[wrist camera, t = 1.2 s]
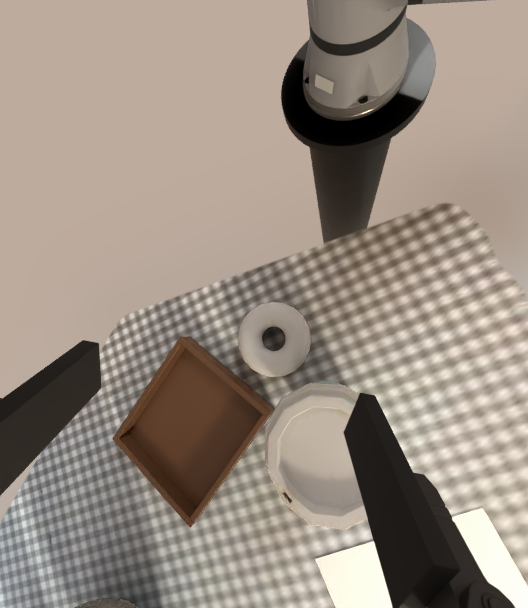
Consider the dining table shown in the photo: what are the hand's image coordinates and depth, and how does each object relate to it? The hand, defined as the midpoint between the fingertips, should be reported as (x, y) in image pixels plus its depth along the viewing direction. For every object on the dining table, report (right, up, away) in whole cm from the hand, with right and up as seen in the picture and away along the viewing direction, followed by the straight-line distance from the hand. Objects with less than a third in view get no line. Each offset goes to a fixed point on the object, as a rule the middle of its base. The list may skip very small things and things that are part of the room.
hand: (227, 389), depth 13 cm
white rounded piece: (+21, -31, +15) cm, 40 cm away
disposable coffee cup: (+11, -9, +21) cm, 25 cm away
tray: (-8, -13, +25) cm, 30 cm away
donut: (+4, -1, +24) cm, 24 cm away
